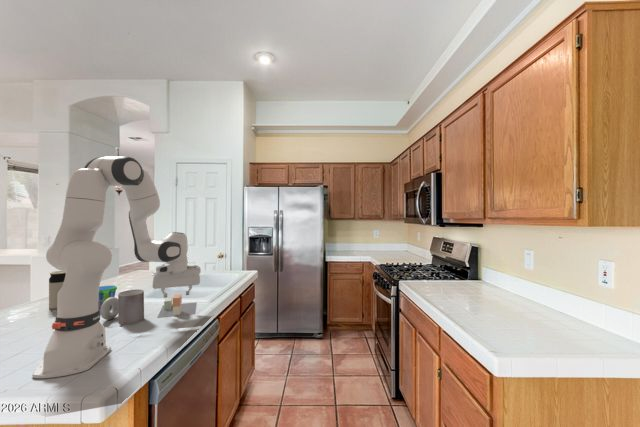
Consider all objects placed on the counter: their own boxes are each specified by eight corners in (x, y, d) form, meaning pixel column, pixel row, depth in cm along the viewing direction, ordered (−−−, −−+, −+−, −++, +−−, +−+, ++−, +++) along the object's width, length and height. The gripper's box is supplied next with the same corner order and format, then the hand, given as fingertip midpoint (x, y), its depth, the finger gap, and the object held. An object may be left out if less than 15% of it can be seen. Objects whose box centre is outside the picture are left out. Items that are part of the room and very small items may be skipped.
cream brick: (180, 314, 142) (180, 306, 142) (173, 315, 141) (173, 306, 141) (181, 311, 148) (181, 302, 148) (174, 311, 147) (174, 303, 147)
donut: (105, 323, 134) (105, 300, 134) (98, 323, 135) (98, 300, 135) (122, 315, 144) (122, 294, 144) (115, 315, 145) (115, 294, 145)
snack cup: (92, 305, 160) (92, 286, 160) (116, 302, 166) (116, 283, 166) (90, 313, 147) (90, 292, 147) (117, 309, 153) (117, 289, 153)
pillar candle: (128, 319, 140) (128, 286, 140) (149, 319, 139) (148, 286, 139) (112, 327, 130) (112, 292, 130) (134, 327, 130) (134, 292, 129)
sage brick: (170, 309, 151) (171, 300, 151) (164, 309, 150) (164, 301, 150) (172, 305, 156) (172, 297, 156) (165, 306, 155) (165, 298, 155)
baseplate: (195, 316, 144) (195, 314, 144) (156, 320, 138) (156, 317, 138) (196, 304, 162) (196, 302, 162) (162, 307, 157) (162, 305, 157)
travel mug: (64, 308, 155) (64, 272, 155) (45, 309, 153) (45, 273, 153) (72, 304, 162) (72, 270, 162) (54, 305, 160) (54, 270, 160)
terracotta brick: (179, 306, 142) (179, 297, 142) (172, 306, 141) (172, 298, 141) (181, 302, 148) (181, 294, 148) (174, 303, 147) (174, 294, 147)
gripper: (199, 264, 152) (199, 292, 152) (152, 267, 142) (152, 297, 142) (201, 265, 147) (201, 295, 147) (153, 269, 137) (152, 300, 136)
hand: (176, 296), depth 144 cm, fingers open, 8 cm apart
